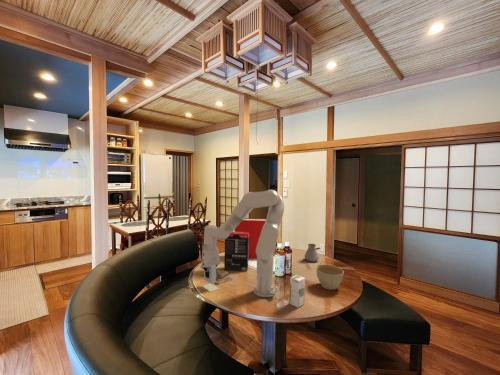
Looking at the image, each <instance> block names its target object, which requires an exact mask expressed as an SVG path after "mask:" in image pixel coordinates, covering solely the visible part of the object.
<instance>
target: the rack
mask: <svg viewBox="0 0 500 375" xmlns="http://www.w3.org/2000/svg"><path fill="white" fill-rule="evenodd" d="M220 272H221V271H220V270H219V269H218V268H216V273H217V274H218V273H220ZM202 276H203V277H204V272H203V273H202ZM228 276H229V278H228V279H225V280H222V281H220V282H218V281H216V282H215V284H217V285H221V284H224V283H226V282H229V281H232V280H233V277H232V276H230V275H228ZM216 277H217V275H216Z"/></svg>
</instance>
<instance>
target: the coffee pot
mask: <svg viewBox="0 0 500 375" xmlns="http://www.w3.org/2000/svg"><path fill="white" fill-rule="evenodd" d="M307 246H308V248H307V250H306V251H305V253H304V259H305V260H306V261H308V262H310V263H315V262H318V260H319V259H320V257H319V253H318V252H317V251H319V250H320V249H321V247H316V246H317V245H316V244H315V243H308V244H307Z"/></svg>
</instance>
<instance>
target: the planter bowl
mask: <svg viewBox="0 0 500 375" xmlns="http://www.w3.org/2000/svg"><path fill="white" fill-rule="evenodd" d="M315 268H316V269H315V271H316V277H317V280H318V281H319V283H320V286H321V287H322V288H323V289H325V290H329V291H331V290H332V291H335V290H337V289H338V287H339V286H340V285H341V283H342V282H343V278H344V273H345V271H344V270H343V268H341V267H339V266H335V265H332V264H319V265H316V267H315Z"/></svg>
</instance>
